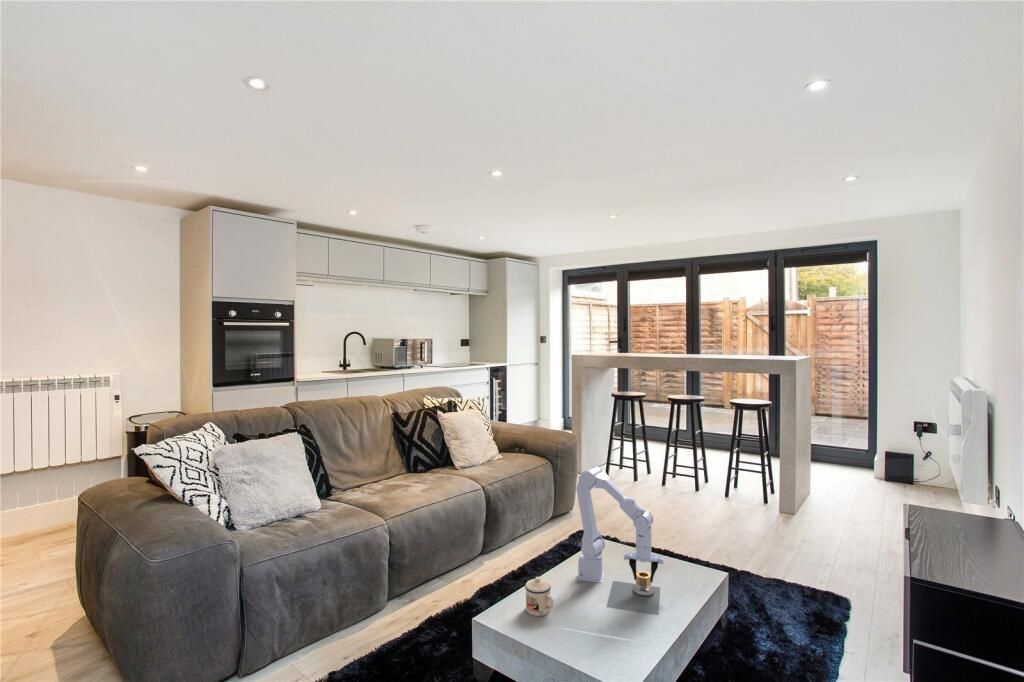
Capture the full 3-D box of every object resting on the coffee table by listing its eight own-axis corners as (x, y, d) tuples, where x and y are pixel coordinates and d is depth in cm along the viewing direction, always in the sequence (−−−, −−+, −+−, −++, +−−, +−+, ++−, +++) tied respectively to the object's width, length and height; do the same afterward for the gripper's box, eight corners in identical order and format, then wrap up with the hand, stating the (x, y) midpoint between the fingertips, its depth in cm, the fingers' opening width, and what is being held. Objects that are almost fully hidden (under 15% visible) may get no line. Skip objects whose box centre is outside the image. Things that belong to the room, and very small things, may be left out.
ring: (635, 585, 197) (635, 576, 197) (636, 578, 202) (636, 570, 202) (650, 587, 195) (650, 578, 195) (651, 580, 200) (651, 572, 200)
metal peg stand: (631, 595, 196) (631, 584, 196) (633, 584, 204) (633, 574, 204) (653, 598, 194) (653, 587, 194) (654, 587, 201) (654, 577, 201)
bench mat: (606, 607, 188) (606, 606, 188) (613, 581, 207) (613, 580, 207) (658, 616, 183) (658, 614, 183) (660, 588, 202) (660, 587, 202)
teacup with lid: (520, 609, 188) (519, 577, 187) (538, 600, 194) (537, 569, 193) (544, 623, 179) (543, 589, 178) (562, 613, 185) (562, 581, 184)
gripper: (623, 546, 197) (623, 582, 197) (663, 551, 192) (663, 587, 193) (624, 539, 203) (624, 573, 204) (663, 543, 199) (663, 578, 199)
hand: (643, 579), depth 199 cm, fingers closed on ring, 5 cm apart
